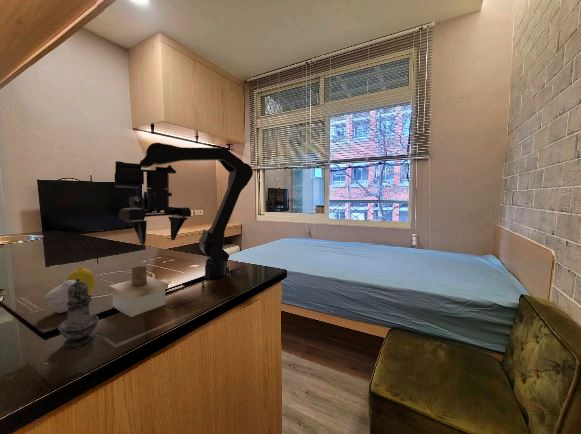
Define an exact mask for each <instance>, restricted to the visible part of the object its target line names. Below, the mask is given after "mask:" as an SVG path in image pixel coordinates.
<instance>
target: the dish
mask: <svg viewBox="0 0 581 434" xmlns="http://www.w3.org/2000/svg"><path fill="white" fill-rule="evenodd" d="M165 305H166V293H165V290H162V291H158V292H155V293H152V294H149V295H145V296H142V297H139V298H136V299H133V300H127V299H125V298H123V297H121V296H119V295H117V294H115V293H113V292H112V307H113V306H114V307H115V308H116V309H117V311H119V312H121V313H123V314H124V315H126V316H127V317H130V318H132V317H135V316H139V315H141V314H143V313H147V312H149V311H152V310H154V309H155V310H156V309H157V308H160V307H163V306H165ZM115 308H114V309H115ZM116 309H115V310H116Z"/></svg>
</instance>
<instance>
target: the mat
mask: <svg viewBox="0 0 581 434" xmlns="http://www.w3.org/2000/svg"><path fill="white" fill-rule="evenodd" d="M159 280H160V281H163V282H165V283H168V285H169V284H171V282H173V280H172V281H171V280H169V279H165V278H163V279H159ZM180 285H181V286H178V287H175V288H172V289H169V290H167V291H165V294H166V293H167V292H168V293H169V292H172V291H174V290H178V289H181V288H183V287H185V285H182V284H180Z"/></svg>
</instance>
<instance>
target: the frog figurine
mask: <svg viewBox="0 0 581 434" xmlns="http://www.w3.org/2000/svg"><path fill="white" fill-rule="evenodd" d="M67 280H68V279H67ZM67 280H64V281H63V282H62V283H61V284H60V285H57V286H56V287H54V288H53V289H50V291H48V292H47V293H46V294H45V296H44V299H45V300H46V301H47V302H48V306H49V308H50V310H52V311H53V312H54V313H58V314H64V313H63V312H65V313H68V312H67V311H68V307H67V306H66V303H68V287H69V286H70V285H72V284H73V283H75V282H76V281H75V280H68V281H67ZM52 311H51V312H52Z"/></svg>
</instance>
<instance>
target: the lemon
mask: <svg viewBox="0 0 581 434" xmlns="http://www.w3.org/2000/svg"><path fill="white" fill-rule="evenodd" d="M77 278H79V279H80V280H79V282H84V283H86V284H87V286H88V294H89V293H91V292H92V291H93V289H94V287H95V283H96V280H95V276H94V274H93V271H91V270H89V269H88V268H84V267H81V266H80V267H78V268H77V269H74V270H73V271H72V272H70V274H69V275H68V277H67V280H66V281H68V280H76V279H77Z"/></svg>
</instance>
